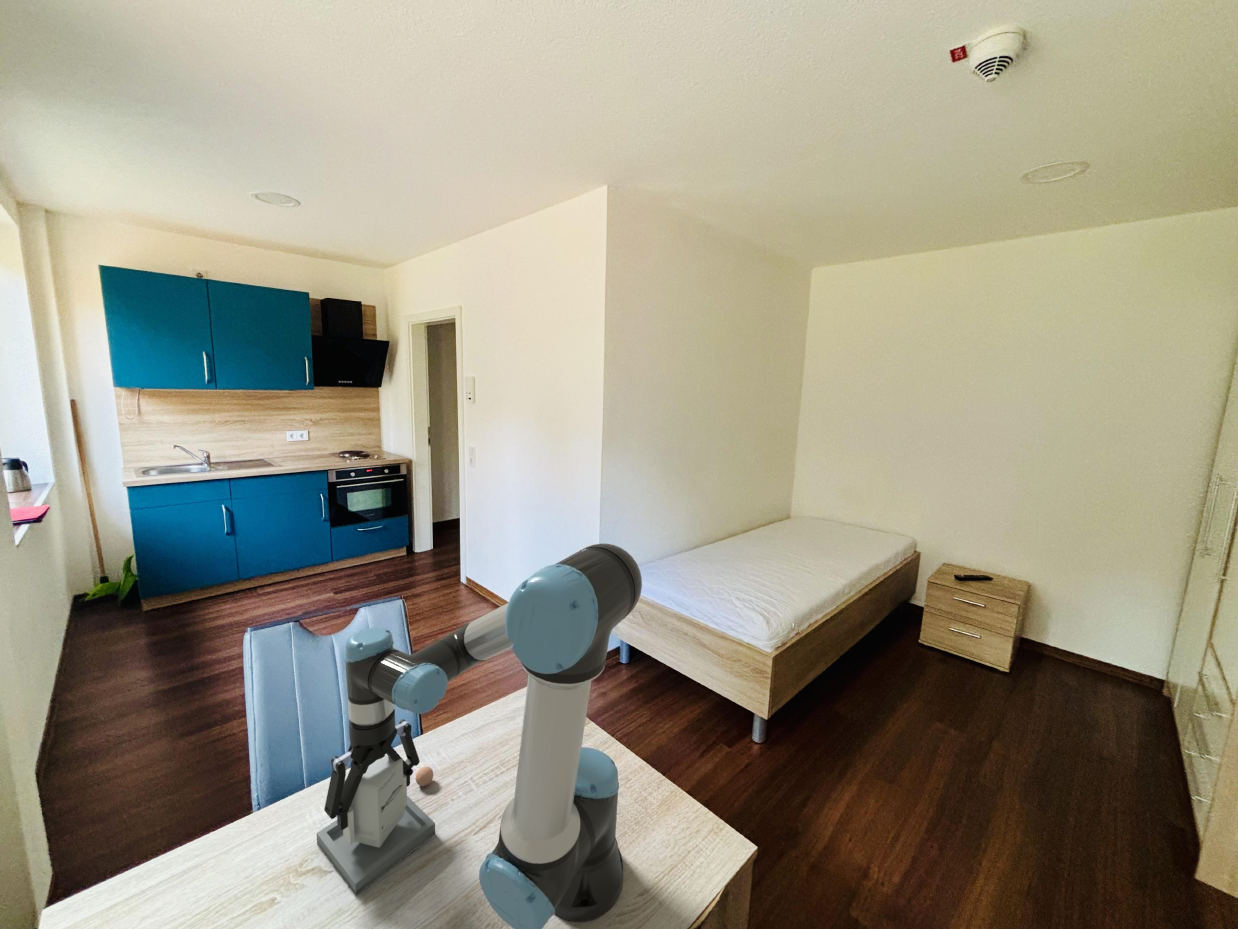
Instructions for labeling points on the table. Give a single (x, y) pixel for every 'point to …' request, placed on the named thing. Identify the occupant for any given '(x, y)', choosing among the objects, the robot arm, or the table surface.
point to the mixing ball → (424, 776)
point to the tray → (375, 848)
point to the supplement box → (378, 801)
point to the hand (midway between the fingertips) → (376, 820)
